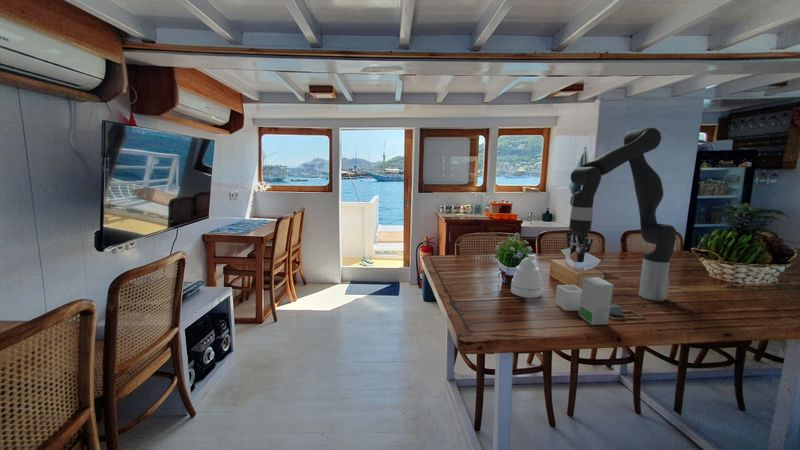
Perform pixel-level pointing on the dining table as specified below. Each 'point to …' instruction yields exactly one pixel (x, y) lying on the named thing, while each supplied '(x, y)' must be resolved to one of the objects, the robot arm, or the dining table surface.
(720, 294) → the dining table surface
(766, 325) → the dining table surface
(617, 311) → the ball slate
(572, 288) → the open square cup
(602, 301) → the skincare box
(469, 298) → the dining table surface
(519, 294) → the honey pot
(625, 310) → the rack
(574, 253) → the ball terracotta
